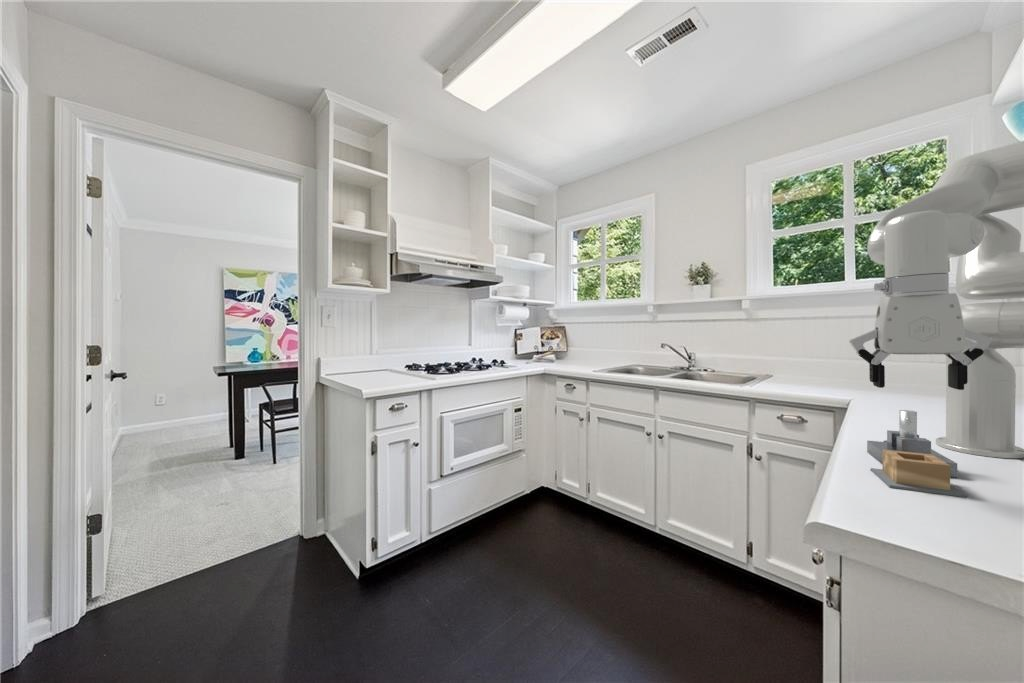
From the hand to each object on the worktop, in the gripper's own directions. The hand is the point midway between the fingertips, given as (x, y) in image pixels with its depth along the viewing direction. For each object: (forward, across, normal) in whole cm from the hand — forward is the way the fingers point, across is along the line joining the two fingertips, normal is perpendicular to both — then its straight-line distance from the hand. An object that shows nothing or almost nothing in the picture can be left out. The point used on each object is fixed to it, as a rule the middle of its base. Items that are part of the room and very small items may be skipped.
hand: (916, 387), depth 66 cm
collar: (+16, 0, -1) cm, 16 cm away
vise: (+17, +2, +14) cm, 22 cm away
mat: (+16, 0, -1) cm, 16 cm away
